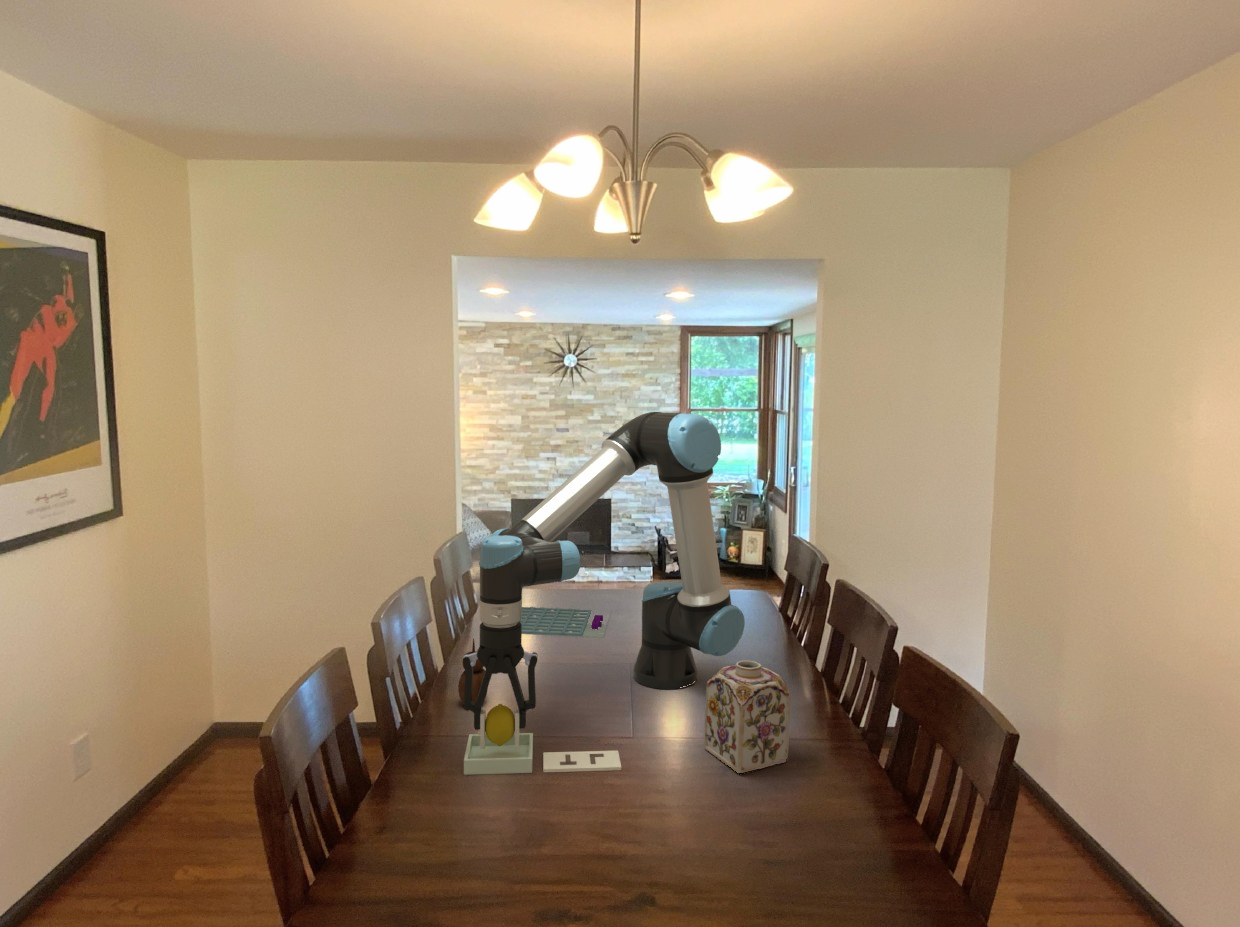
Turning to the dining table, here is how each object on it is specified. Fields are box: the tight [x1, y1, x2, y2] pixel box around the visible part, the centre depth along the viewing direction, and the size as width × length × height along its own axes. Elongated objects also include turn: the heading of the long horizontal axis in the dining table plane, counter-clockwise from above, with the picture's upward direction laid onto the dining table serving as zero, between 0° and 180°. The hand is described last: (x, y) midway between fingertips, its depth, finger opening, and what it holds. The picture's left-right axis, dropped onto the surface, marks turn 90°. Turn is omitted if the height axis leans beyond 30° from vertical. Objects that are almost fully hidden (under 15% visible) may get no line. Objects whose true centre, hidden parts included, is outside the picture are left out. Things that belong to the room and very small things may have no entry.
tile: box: [542, 750, 622, 773], centre depth 142 cm, size 14×6×1 cm, turn 96°
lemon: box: [485, 703, 515, 746], centre depth 142 cm, size 6×6×8 cm
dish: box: [463, 732, 534, 776], centre depth 142 cm, size 12×10×3 cm
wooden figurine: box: [457, 638, 489, 705], centre depth 167 cm, size 7×6×15 cm
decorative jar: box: [703, 660, 791, 774], centre depth 145 cm, size 12×12×18 cm
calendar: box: [519, 606, 608, 638], centre depth 228 cm, size 27×29×2 cm
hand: (499, 744), depth 142 cm, fingers closed on lemon, 5 cm apart
